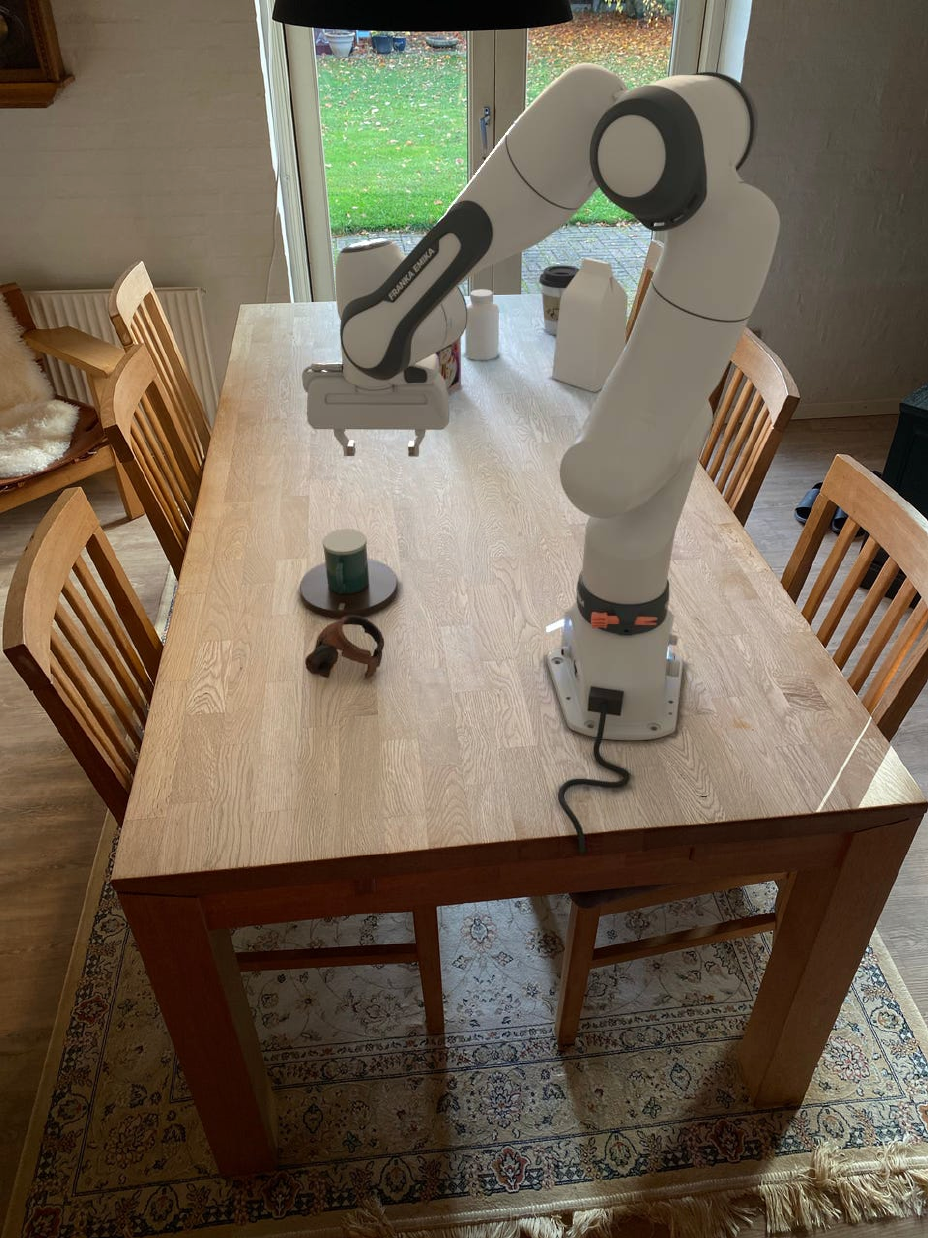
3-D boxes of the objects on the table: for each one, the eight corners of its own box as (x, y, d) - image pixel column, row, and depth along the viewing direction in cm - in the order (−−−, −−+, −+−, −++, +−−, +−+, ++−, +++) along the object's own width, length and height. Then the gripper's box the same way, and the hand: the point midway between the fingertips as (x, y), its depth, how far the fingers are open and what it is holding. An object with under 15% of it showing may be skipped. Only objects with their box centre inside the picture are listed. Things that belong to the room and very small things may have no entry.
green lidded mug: (319, 602, 141) (314, 559, 136) (331, 569, 148) (327, 527, 143) (363, 604, 140) (359, 561, 136) (373, 571, 147) (369, 529, 143)
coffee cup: (533, 336, 236) (535, 275, 227) (540, 321, 245) (543, 262, 236) (578, 339, 234) (582, 278, 225) (583, 324, 243) (588, 265, 234)
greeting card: (436, 404, 203) (435, 336, 194) (408, 397, 206) (405, 330, 197) (464, 386, 210) (463, 320, 202) (436, 380, 214) (435, 314, 205)
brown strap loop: (333, 639, 137) (358, 601, 132) (376, 684, 135) (403, 647, 130) (277, 665, 127) (302, 625, 122) (324, 715, 125) (351, 676, 121)
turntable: (391, 621, 139) (390, 612, 139) (291, 617, 140) (290, 609, 139) (402, 565, 152) (402, 557, 151) (311, 563, 152) (310, 555, 151)
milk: (551, 378, 214) (558, 261, 199) (581, 364, 221) (590, 249, 206) (594, 391, 208) (604, 271, 192) (624, 376, 214) (635, 259, 199)
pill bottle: (461, 359, 224) (460, 296, 215) (470, 347, 230) (470, 285, 221) (493, 362, 222) (493, 299, 213) (501, 350, 228) (503, 288, 219)
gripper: (295, 371, 127) (307, 464, 135) (446, 371, 126) (449, 465, 134) (304, 354, 132) (315, 444, 140) (449, 354, 131) (451, 445, 139)
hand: (381, 454), depth 137 cm, fingers open, 8 cm apart
